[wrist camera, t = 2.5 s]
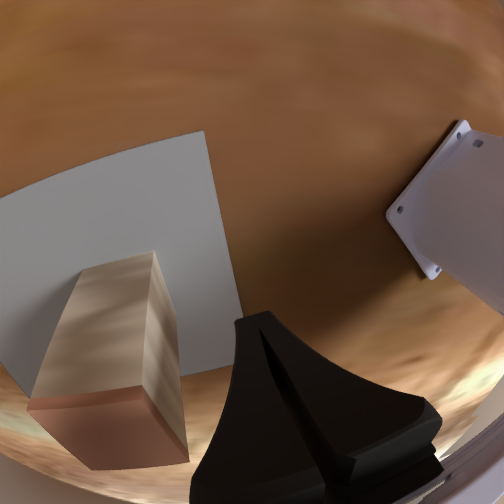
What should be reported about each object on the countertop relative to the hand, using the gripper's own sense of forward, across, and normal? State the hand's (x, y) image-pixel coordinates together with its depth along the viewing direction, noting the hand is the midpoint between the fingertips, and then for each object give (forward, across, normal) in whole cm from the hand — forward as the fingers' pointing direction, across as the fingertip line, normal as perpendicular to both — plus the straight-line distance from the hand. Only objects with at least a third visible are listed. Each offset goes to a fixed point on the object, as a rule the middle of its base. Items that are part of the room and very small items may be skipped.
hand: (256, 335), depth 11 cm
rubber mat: (+6, +9, 0) cm, 11 cm away
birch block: (+5, +6, 0) cm, 8 cm away
